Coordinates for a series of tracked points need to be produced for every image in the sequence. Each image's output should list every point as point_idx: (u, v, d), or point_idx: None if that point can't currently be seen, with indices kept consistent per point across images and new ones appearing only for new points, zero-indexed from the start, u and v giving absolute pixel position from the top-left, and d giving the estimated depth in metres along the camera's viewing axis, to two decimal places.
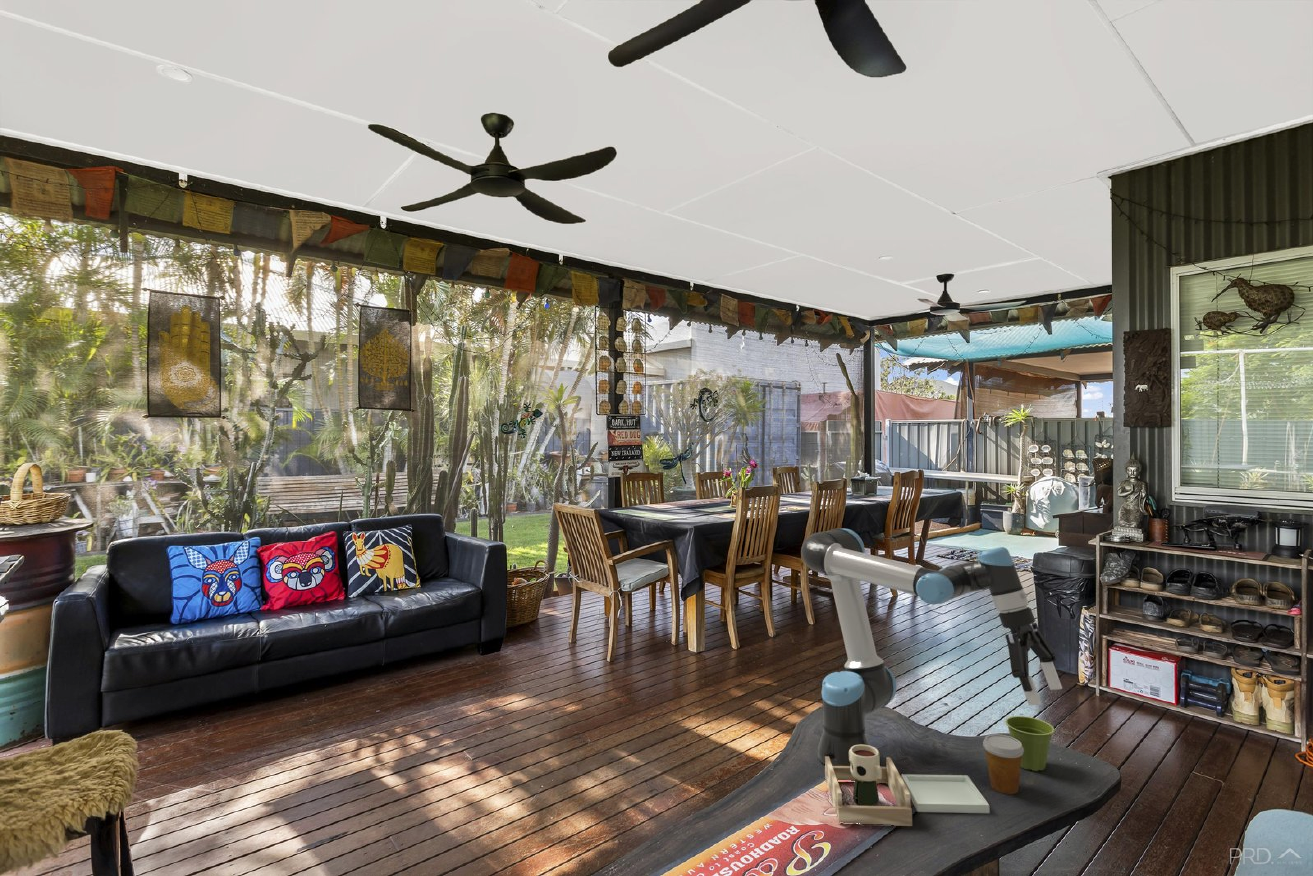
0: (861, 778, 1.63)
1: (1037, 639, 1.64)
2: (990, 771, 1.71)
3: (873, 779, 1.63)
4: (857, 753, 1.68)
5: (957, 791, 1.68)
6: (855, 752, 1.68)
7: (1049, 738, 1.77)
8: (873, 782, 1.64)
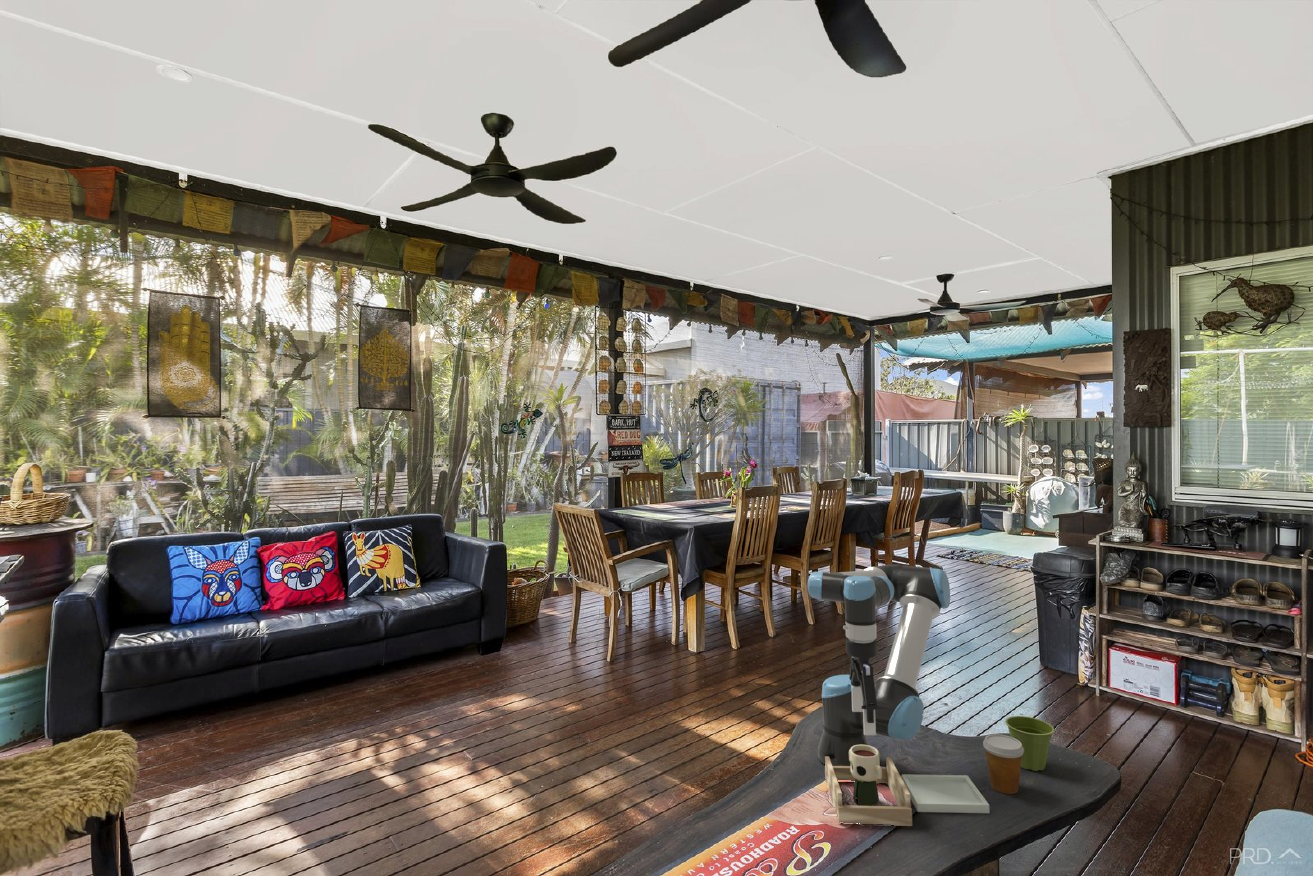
0: (861, 778, 1.63)
1: (857, 675, 1.63)
2: (990, 771, 1.71)
3: (873, 779, 1.63)
4: (857, 753, 1.67)
5: (957, 791, 1.68)
6: (855, 752, 1.68)
7: (1049, 738, 1.77)
8: (873, 782, 1.64)
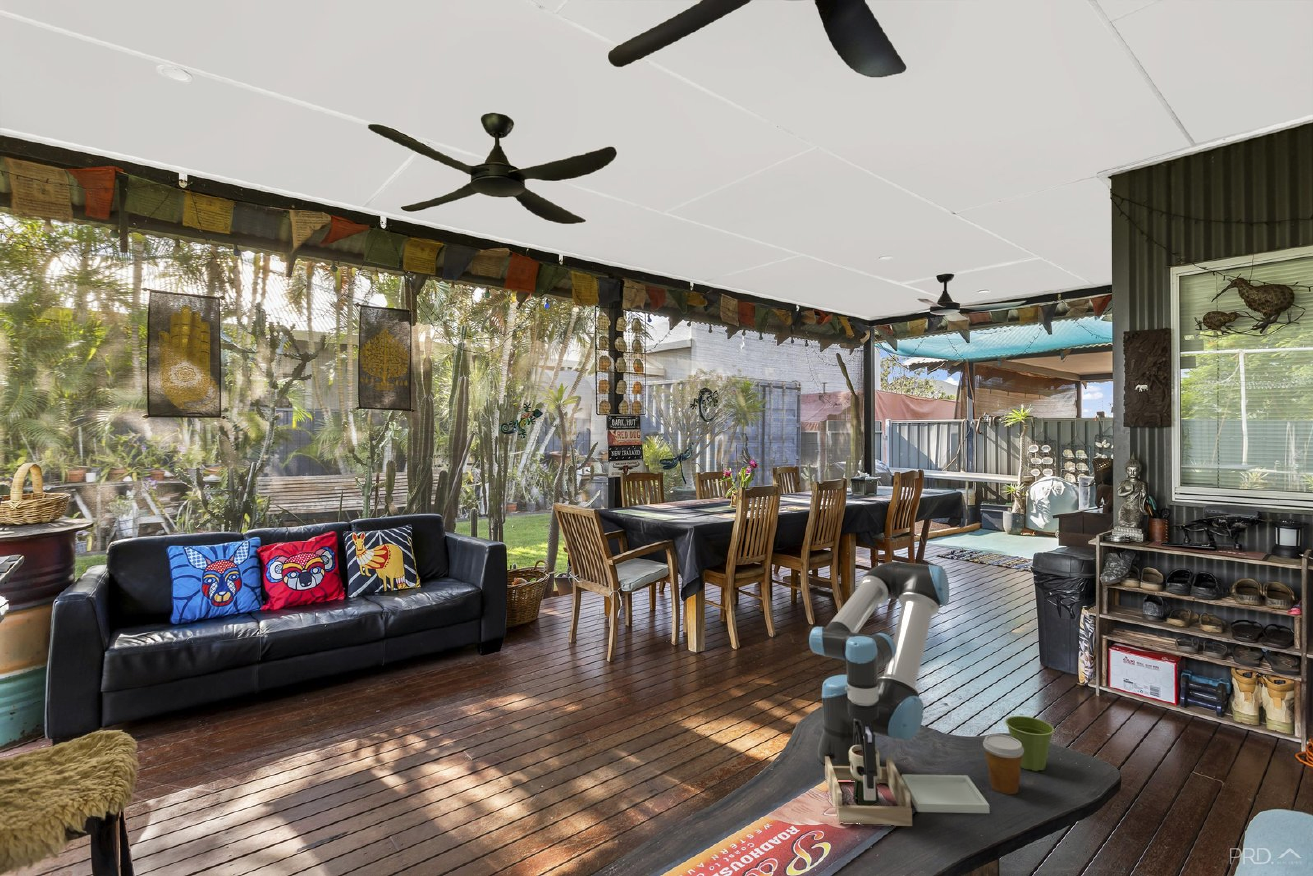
0: (861, 778, 1.63)
1: (858, 738, 1.64)
2: (990, 771, 1.71)
3: None
4: (857, 753, 1.68)
5: (957, 791, 1.68)
6: (855, 752, 1.68)
7: (1049, 738, 1.77)
8: None
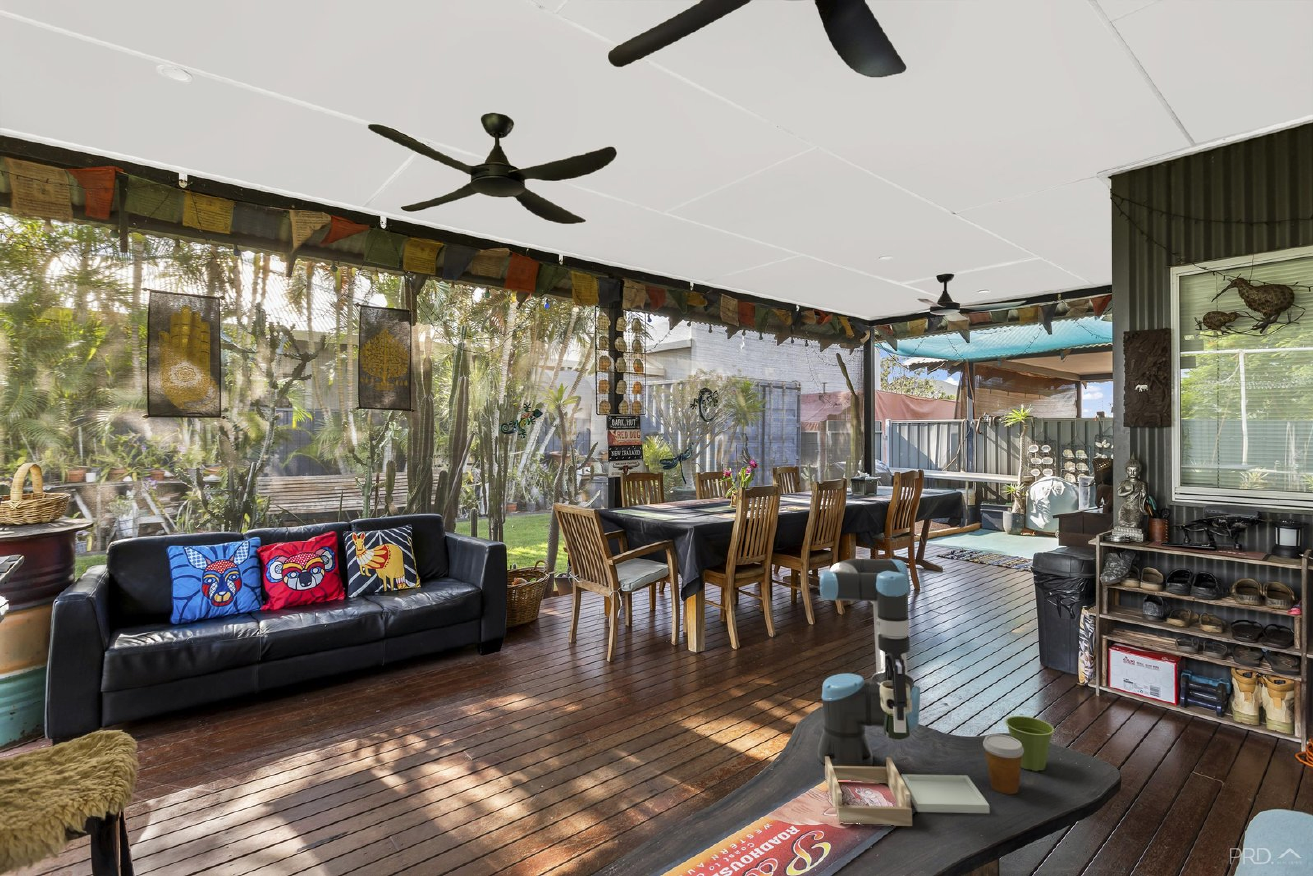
0: (891, 711, 1.63)
1: (889, 671, 1.64)
2: (990, 771, 1.71)
3: None
4: (888, 688, 1.68)
5: (957, 791, 1.68)
6: (886, 687, 1.68)
7: (1049, 738, 1.77)
8: None
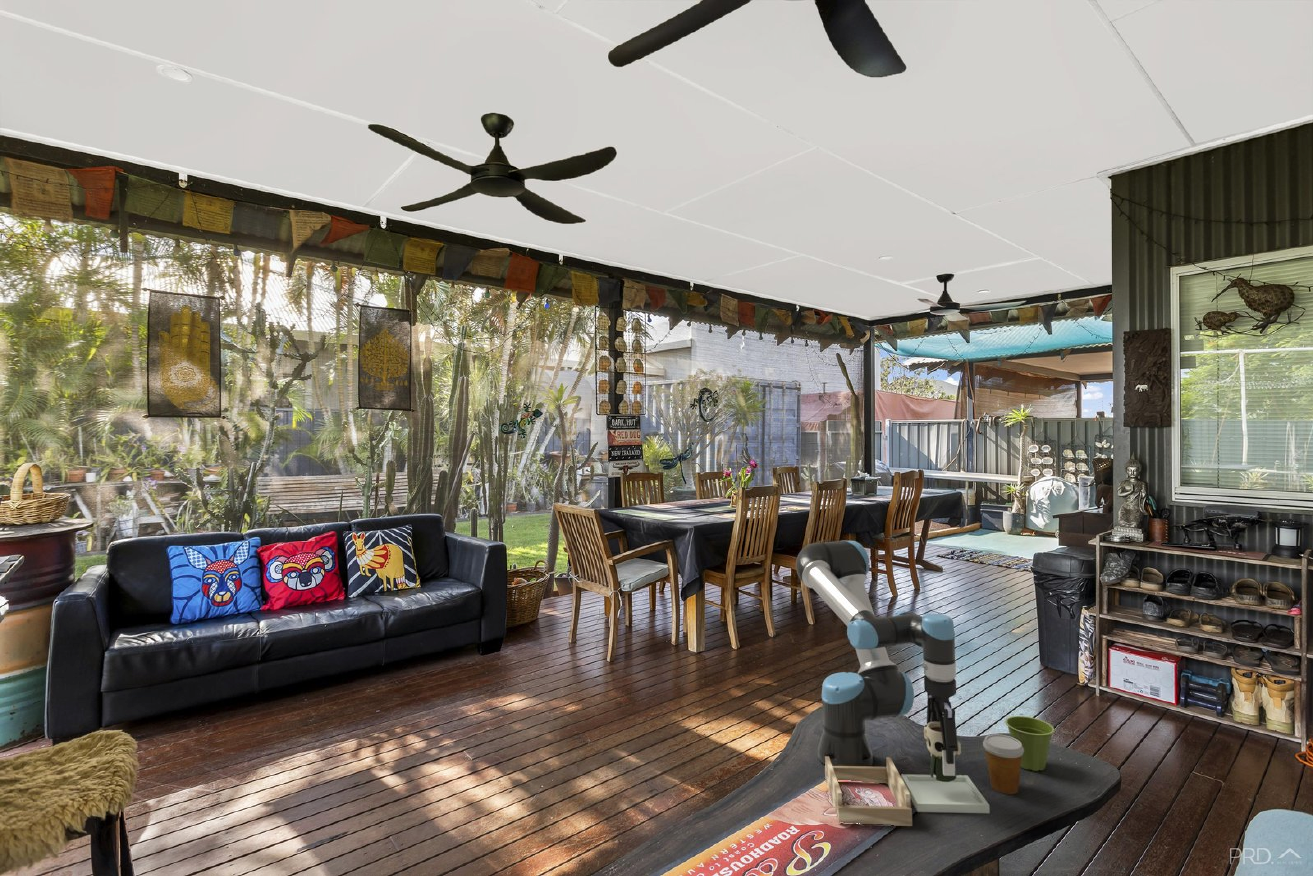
0: (939, 754, 1.64)
1: (936, 714, 1.65)
2: (990, 771, 1.71)
3: None
4: (933, 730, 1.69)
5: (957, 791, 1.68)
6: (931, 729, 1.69)
7: (1049, 738, 1.77)
8: None
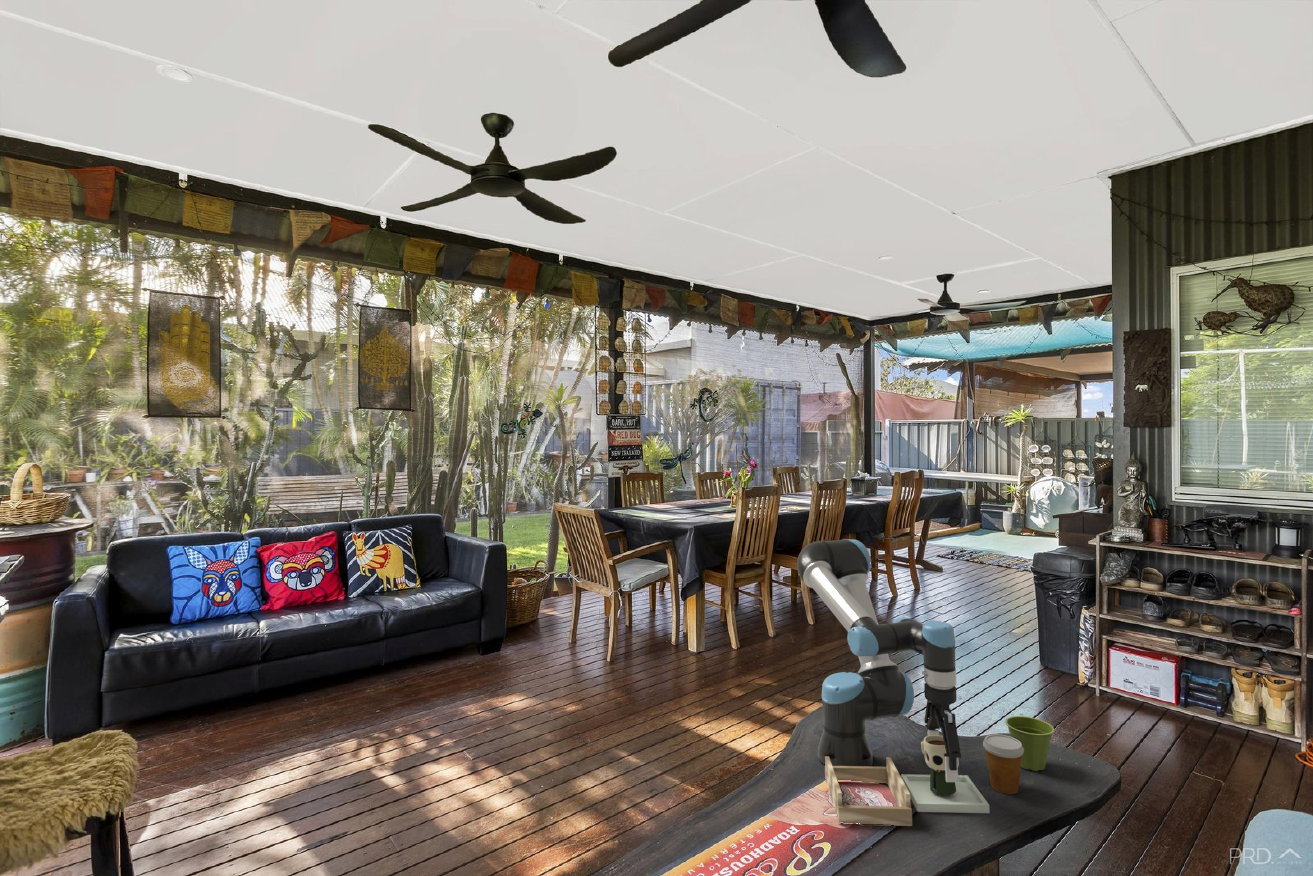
0: (938, 767, 1.65)
1: (937, 721, 1.65)
2: (990, 771, 1.71)
3: None
4: (930, 743, 1.69)
5: (957, 791, 1.68)
6: (928, 743, 1.70)
7: (1049, 738, 1.77)
8: None
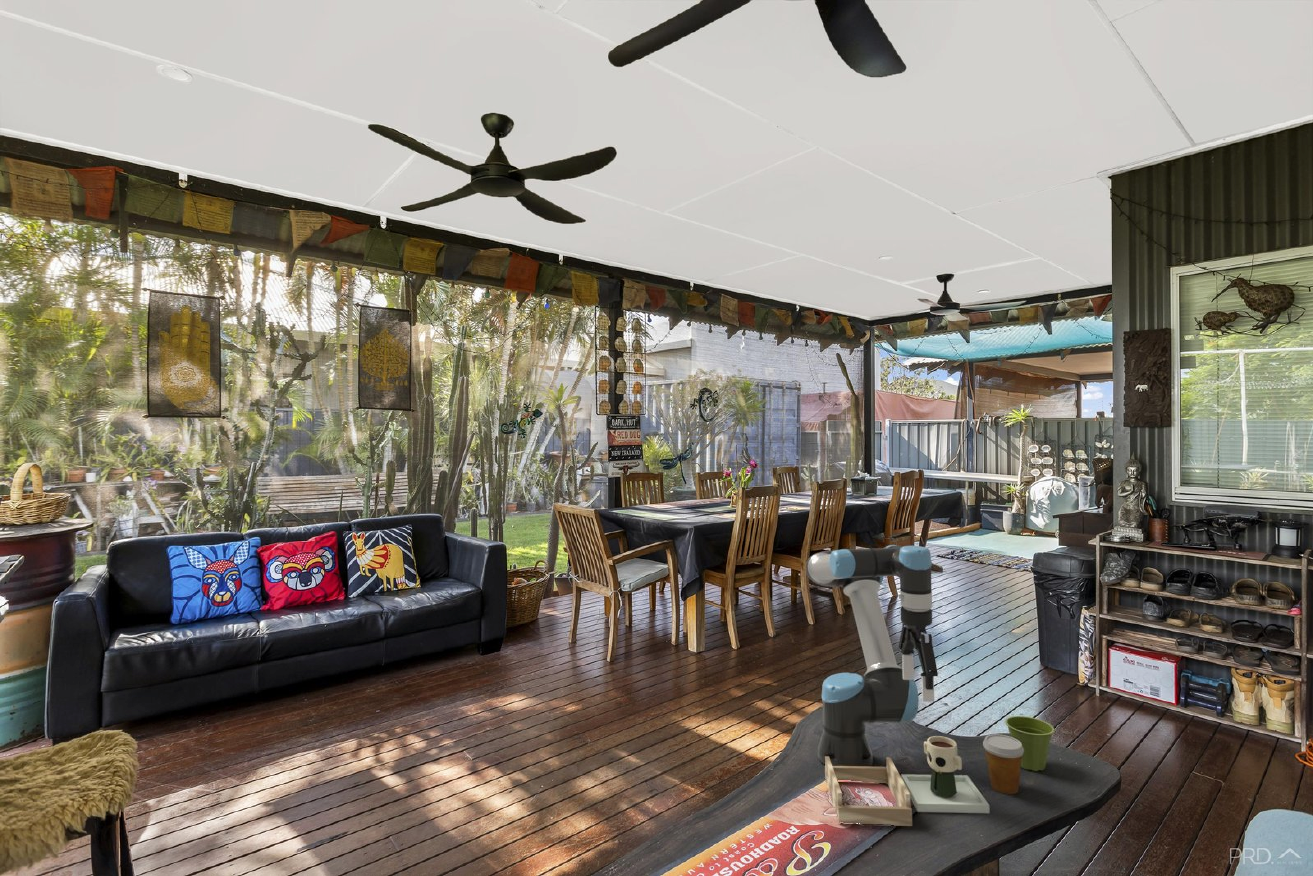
0: (941, 769, 1.64)
1: (914, 643, 1.65)
2: (990, 771, 1.71)
3: (952, 770, 1.64)
4: (934, 744, 1.69)
5: (957, 791, 1.68)
6: (931, 744, 1.69)
7: (1049, 738, 1.77)
8: (951, 773, 1.66)
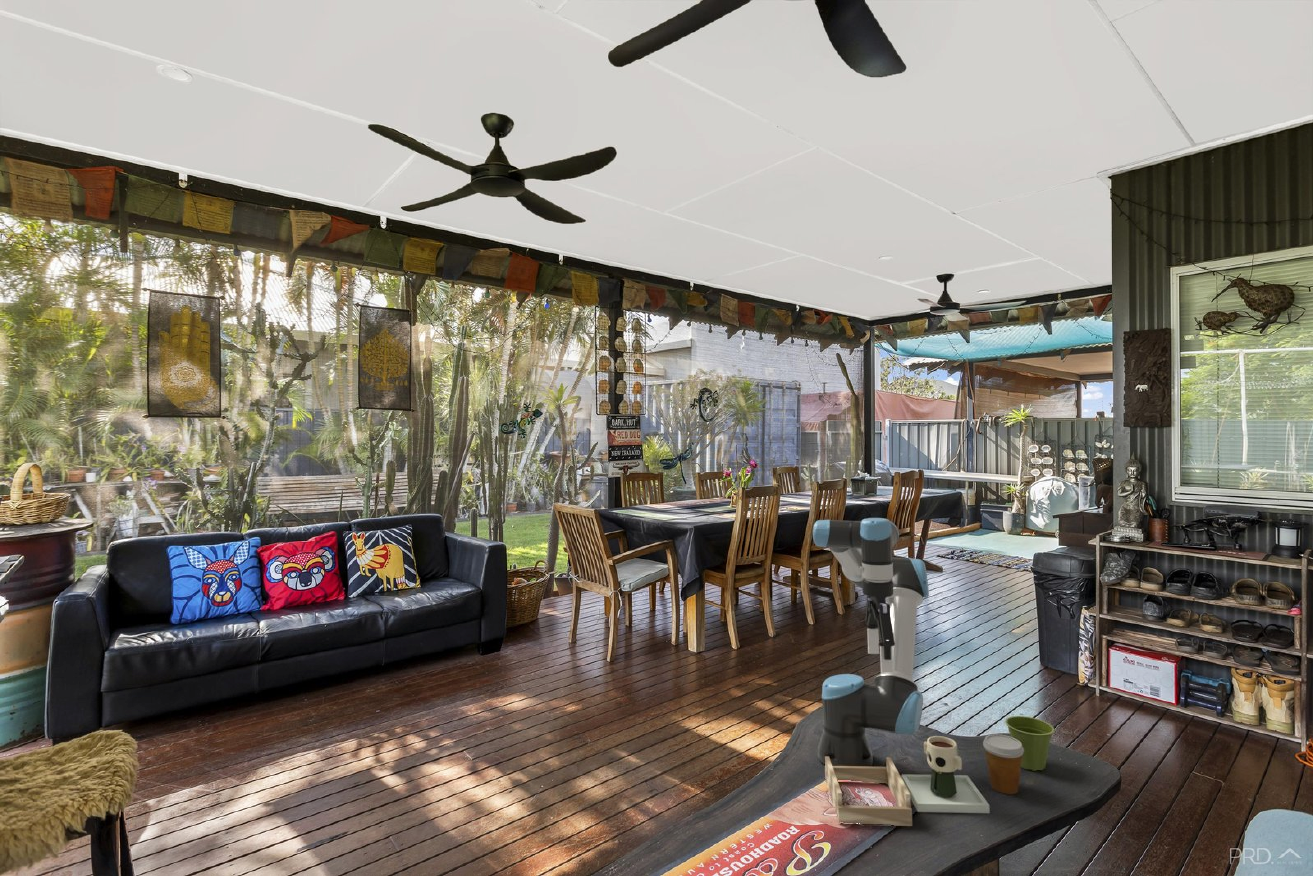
0: (941, 769, 1.64)
1: (874, 614, 1.65)
2: (990, 771, 1.71)
3: (952, 770, 1.64)
4: (934, 744, 1.69)
5: (957, 791, 1.68)
6: (931, 744, 1.69)
7: (1049, 738, 1.77)
8: (951, 773, 1.66)
